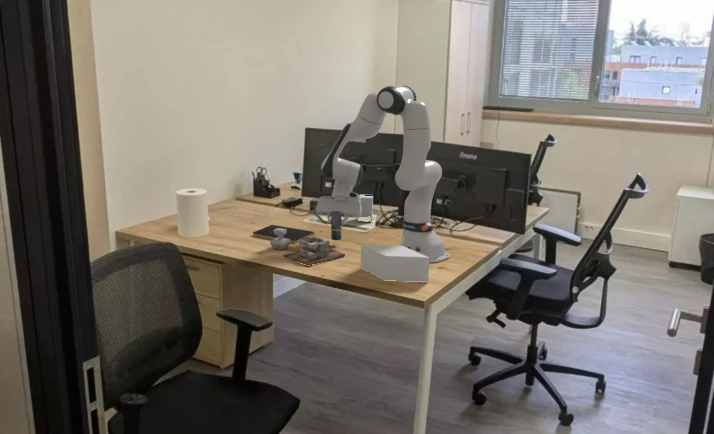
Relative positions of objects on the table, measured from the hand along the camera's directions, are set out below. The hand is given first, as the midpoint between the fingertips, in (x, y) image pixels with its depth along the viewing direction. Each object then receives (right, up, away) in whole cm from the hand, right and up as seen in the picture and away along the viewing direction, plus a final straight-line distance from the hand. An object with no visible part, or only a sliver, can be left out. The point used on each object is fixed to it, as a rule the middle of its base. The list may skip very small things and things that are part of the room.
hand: (335, 224), depth 287 cm
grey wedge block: (+23, -20, -33) cm, 45 cm away
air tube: (0, -7, +2) cm, 7 cm away
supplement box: (+13, +1, +44) cm, 46 cm away
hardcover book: (-24, -6, +16) cm, 30 cm away
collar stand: (-9, -13, -13) cm, 21 cm away
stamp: (-24, -11, -3) cm, 26 cm away
